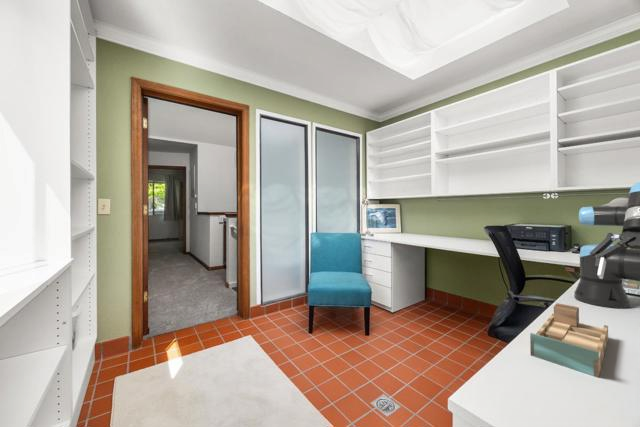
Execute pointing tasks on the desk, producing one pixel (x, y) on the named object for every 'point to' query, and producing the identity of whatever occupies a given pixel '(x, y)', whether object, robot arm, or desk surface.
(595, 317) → the desk surface
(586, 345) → the tray
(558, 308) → the block
